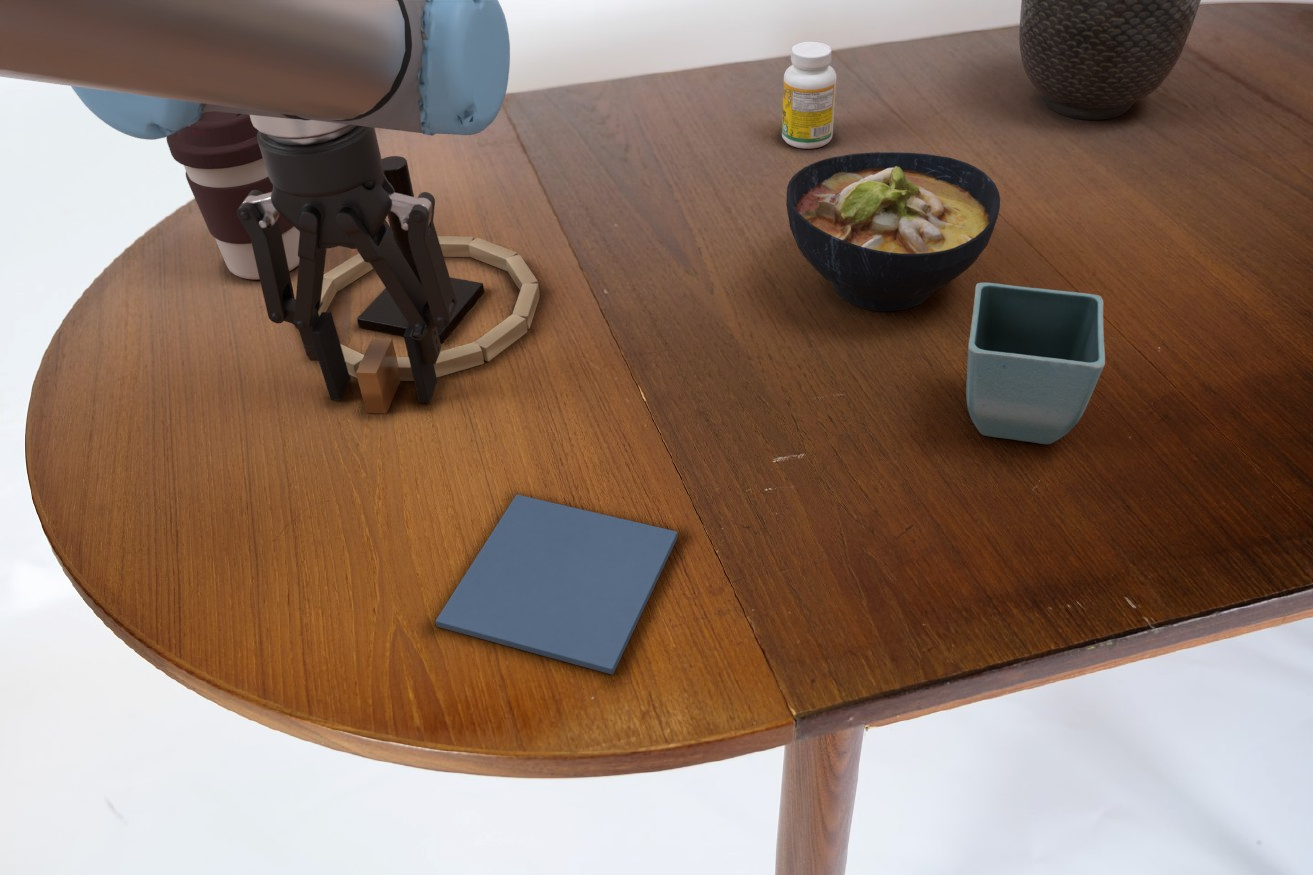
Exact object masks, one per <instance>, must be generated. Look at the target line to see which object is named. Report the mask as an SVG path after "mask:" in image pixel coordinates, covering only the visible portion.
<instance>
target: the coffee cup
mask: <svg viewBox="0 0 1313 875" xmlns="http://www.w3.org/2000/svg"><path fill="white" fill-rule="evenodd" d="M257 132H258V130H257V129H256V128H255V127H254V126H253V124H252V122H251V119H250V115H246V114H237V113H227V112H217V111H211V112H206V113H203V114H202V115H201V118H200V119H199V120H198V122H196V123H194V124H191V125H190V127H189V126H187V127H185V128H182V129H181V130H179V131H177V132H176V133H174V134H171V135H169V136H167V137H165V139H166V144H167V146H168V150H169V152H170V155H171V157H172V159H173V160H175V161H176V162H177V163H178V164H180V165H182V166H183V167H184V170H185V178H186V181H187V184H188V185H189V188H190V190H191V193H192V195H193V197H194V199H195V203H196V204H197V206H198V209H199V211H200V213H201V216H202V218H203V220H204V222H205V225H206V227H207V230H208V231H209V233H210V235H211V236H212V237H213V238H214V239H215V242H216V244H217V246H218V249H219V251H220V253H221V256H222V259H223V260H224V262H225V265H226V267H227V269H228V270H229V272H230V273H232V274H233V275H235V276H236V277H239V278H242V279H246V280H260V278H259V274H258V269H257V265H256V260H255V256H254V252H253V247H252V243H251V238H250V236H249V234H248V233H247V231H246V229H245V228H244V226H243V225H242V223H241V221H240V220H239V218H238V216H237V210H238V208H239V207H240V206H241V204H242V203H243V201H244V200H245V199H246V197H247V196H248V195H249V193H250V192H251V191H252V190H258V191H261V192H262V193H263V194H266V193H270V192H272V190H273V184H272V183H271V181H270V179H269V177H268V173H267V170H266V167H265V163H264V160H263V157H262V154H261V150H260V147H259V144H258V140H257ZM278 221H279V225H280V229H281V234H282V239H283V243H284V248H285V253H286V258H287V263H288V268H289V272H291V271H293V270H294V269H295V268H297V267H299V257H298V246H299V235H300V231H298V230H297V229H296V228H295V227H294V226H293V225H292V224H291V223H290V222H289V221H288V220H287V219H286V218H284V217H283V216H282V215H281V214H280V213H279V217H278Z"/></svg>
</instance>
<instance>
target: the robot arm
mask: <svg viewBox="0 0 1313 875" xmlns="http://www.w3.org/2000/svg"><path fill="white" fill-rule="evenodd" d="M510 65H511V43H510V33H509V28H508V23H507V19H506V15H505V13H504V10H503V8H502V5H501V4H500V1H499V0H0V78H8V79H15V80H23V81H31V82H39V83H45V84H53V85H60V86H68V87H71V89H72V90H73V91H74V93H75V95H76V96H77V97H78V98H79V99H80V101H81V102H82V103H83V105H84V106H85V107H86V108H87V109H88V110H89V111H90V112H91V113H92V114H94V116H96V118H98V119H99V120H100V121H102V122H103V123H105V124H106V125H107V126H109V127H111V129H114V130H116V131H118V132H119V133H122V134H123V135H126V136H129V137H132V138H136V139H141V140H147V141H149V140H151V141H153V140H155V141H156V140H159V139H166V138H167V136H169V135H171V134H174V133H176V132H177V131H179V130H181V129H182V128H185V127H187V126H189V127H190V125H191V124H194V123H196V122H198V120H199V119H200V118H201V115H202V114H203V113H206V112H211V111H217V112H227V113H237V114H246V115H250V119H251V122H252V124H253V126H254V127H255V128H256V129H257V130H258V132H257V140H258V144H259V147H260V150H261V154H262V157H263V160H264V163H265V167H266V170H267V173H268V177H269V179H270V181H271V183H272V184H273V190H272V192H270V193H266V194H263V193H262V192H261V191H258V190H252V191H251V192H250V193H249V195H248V196H247V197H246V199H245V200H244V201H243V203H242V204H241V206H240V207H239V208H238V210H237V216H238V218H239V220H240V221H241V223H242V225H243V226H244V228H245V229H246V231H247V233H248V234H249V236H250V238H251V243H252V247H253V252H254V256H255V260H256V265H257V269H258V274H259V278H260V279H259V283H260V287H261V290H262V296H263V299H264V304H265V308H266V313H267V318H268V319H269V320H270V321H271V322H272V323H275V324H282V323H284V322H286V323H289V324H292V325H293V326H294V328H296V329H297V330H298V332H299V335H300V339H301V341H302V344H303V347H304V348H303V349H304V350H305V354H306V357H307V358H308V359H309V360H310V361H311V362H312V361H313V362H318V364H319V366H320V369H321V373H322V376H323V379H324V383H325V386H326V390H327V392H328V396H329V399H330V401H341V399H342V396H343V394H344V392H345V391H346V389H347V386H348V385H349V382H350V380H351V377H350V376H351V375H349V373H348V369H347V366H346V362H345V359H344V355H343V352H342V348H341V345H340V344H341V342H340V337H339V334H338V331H337V327H336V324H335V319H334V317H333V313H332V311H331V312H330V311H326V312H322V313H321V315H320V316H319V314H318V311H319V310H320V308H321V306H322V304H323V302H321V294H322V285H323V276H324V274H325V265H326V257H327V249H332V248H338V247H342V248H347V249H351V250H356V251H357V252H358V253H359V254H360V255H361V257H362V258H363V260H364V261H365V262H369V263H370V264H371V265H372V267H373V268H374V269H373V270H374V271H375V273H376V275H377V276H378V278H379V279H380V281H381V283H382V284H383V286H384V287H385V288H386V289H387V290H388V292H389V294H390V295H391V297H392V298H393V300H394V301H395V303H396V305H397V306H398V308H399V309H400V311H401V312H402V314H403V315H404V317H405V319H406V320H407V322H408V323H409V324H408V327H407V329H406V331H405V334H404V336H403V340H404V343H405V349H406V353H407V357H409V361H410V365H411V369H412V374H413V378H414V381H413V382H414V385H415V390H416V394H417V399H418V402H419V403H420V404H430V402H431V399H432V396H433V394H434V392H435V388H436V387H437V384H438V377H436V373H435V368H434V364H436V361H437V359H438V356H439V354H440V352H441V351H442V344H441V343H440V339H439V335H438V330H437V326H439V327H443V328H444V327H447V326H449V324H450V321H451V319H452V316H453V314H454V311H455V309H456V306H457V299H456V296H455V293H454V289H453V286H452V283H451V279H450V277H451V276H450V273H449V269H448V266H447V264H446V259H445V257H444V256H443V253H442V250H441V246H440V243H439V240H438V236H439V235H438V233H437V229H436V227H435V223H434V219H435V218H434V217H435V208H436V207H435V206H436V199H435V197H434V195H433V194H432V193H430V192H429V191H422V192H420V193H419V194H418V196H417V197H415V196H414V197H411V196H407V195H403V194H399V193H395V190H394V188H393V187H392V185H391V184H390V183H389V182H388V180H387V179H386V177H385V175H384V172H383V166H382V159H383V158H382V155H381V150H380V145H379V141H378V138H377V133H376V132H377V131H376V129H383V130H391V131H400V132H406V133H407V132H408V133H416V134H417V133H418V134H422V135H425V136H430V137H432V136H433V137H434V136H435V135H453V136H455V135H456V136H457V135H458V136H474V135H477V134H480V133H481V132H484V131H485V130H486V129H487V128H488V127H489V126H491V124H493V122H494V121H495V120H496V118H497V116H498V114H499V113H500V111H501V108H502V106H503V103H504V101H505V97H506V94H507V90H508V86H509V76H510V75H509V74H510ZM390 211H391V212H394V213H395V214H396V215H397V216H398V217H399V220H400V223H401V228H402V229H403V230H408V241H409V245H410V249H411V252H412V255H413V258H414V261H415V264H416V267H417V270H418V274H419V277H420V280H421V283H422V285H421V284H420V282H419V281H418V279H417V277H416V276H415V274H414V272H413V271H412V269H411V267H410V266H409V264H408V263H407V261H406V259H405V258H404V256H403V254H402V253H401V251H400V249H399V248H398V246H397V245H396V243H395V241H394V239H393V232H392V230H391V228H390V225H389V222H387V220H386V219H387V218H388V216H387V215H388V214H389V212H390ZM279 213H280V214H281V215H282V216H283V217H284V218H286V219H287V220H288V221H289V222H290V223H291V224H292V225H293V226H294V227H295V228H296V229H297V230H298V231H300V235H299V246H298V257H299V265H298V268H297V269H298V270H297V282H296V291H295V292H294V286H293V283H292V278H291V273H290V271H289V268H288V263H287V258H286V253H285V248H284V243H283V239H282V234H281V229H280V225H279V221H278V217H279ZM422 286H423V287H422ZM320 303H321V304H320Z"/></svg>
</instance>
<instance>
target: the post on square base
mask: <svg viewBox="0 0 1313 875" xmlns="http://www.w3.org/2000/svg"><path fill="white" fill-rule="evenodd" d="M381 159H382V166H383V172H384V175H385V177H386V179H387V180H388V182H389V183H390V184H391V185H392V187H393V188H394V190H395V193H399V194H403V195H407V196H411V197H415V194H414V189H413V184H412V178H411V173H410V169H409V164H408V160H407V159H406V157H403V156H401V155H400V156H399V155H391V156H385V157H382V158H381ZM387 219H388V225H389V226H390V228H391V230H392V232H393V239H394V241H395V243H396V245H397V246H398V248H399V249H400V251H401V253H402V254H403V256H404V258H405V259H406V261H407V263H408V264H409V266H410V267H411V269H412V271H413V272H414V274H415V276H416V277H417V279H418V281H419V282H420V284H421V285H422V283H421V280H420V277H419V274H418V270H417V267H416V264H415V261H414V258H413V255H412V252H411V249H410V245H409V241H408V230H403V229H402V228H401V223H400V220H399V217H398V216H397V215H396V214H395V213H394V212H391V211H390V212H389V214H388V215H387ZM450 279H451V283H452V286H453V289H454V293H455V296H456V299H457V306H456V309H455V311H454V314H453V316H452V319H451V321H450V324H449V326H447V327H444V328H443V327H439V326H437V330H438V335H439V339H440V344H441V345H442V344H443V343H444V342H445V341H446V339H447V338H448V337H449V336H450V334H451V333H453V331H454V330H455V329H456V327H457V326H458V325H459V324H460V323H461V321H462V320H463V319H464V318H465V317H466V315H467V314H468V313H469V312H470V311H471V309H472V308H473V307H474V305H476V303H477V302H478V301H479V299H480V298H481V297H482V296H483V295H484V293H485V288H484V283H483V282H480V281H473V280H468V279H462V278H457V277H451V276H450ZM422 287H423V286H422ZM356 322H357V324H358V328H360V329H363V330H369V331H374V332H380V333H384V334H390V335H395V336H401V337H404V334H405V331H406V329H407V327H408V324H409V323H408V322H407V320H406V319H405V317H404V315H403V314H402V312H401V311H400V309H399V308H398V306H397V305H396V303H395V301H394V300H393V298H392V297H391V295H390V294H389V292H388V290H387V289H386V287H385V288H384V289H383V290H382V291H381V292H380V293H379V294H378V295H377V297H375V299H373V301H371V303H369V305H368V306H367V307H366V308H365V309H364V310H363V311H362V312H361V313H360V314H359V316H357V318H356Z"/></svg>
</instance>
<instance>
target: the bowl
mask: <svg viewBox="0 0 1313 875" xmlns="http://www.w3.org/2000/svg"><path fill="white" fill-rule="evenodd" d="M1000 195H1001V194H1000V192H999V188H998V186H997V184H996V183H995V182H994V181H993V179H992V178H991V177H989V175H987V173H985V171H983V170H981V169H980V168H978V167H976V166H975V165H973V164H970V163H968V162H965V161H963V160H959V159H957V158H953V157H948V156H941V155H935V154H929V153H921V152H919V153H918V152H903V151H901V152H900V151H899V152H896V151H895V152H890V151H889V152H883V151H881V152H878V151H877V152H876V151H874V152H859V153H858V152H857V153H850V154H844V155H838V156H833V157H829V158H823V159H821V160H819V161H816V162H813V163H811V164H808V165H806V166H804V167H803V168H801V169H800V170H798V171H797V172H796V173H795V174H793V176H791V179H790V180H789V181H788V183H787V186H786V197H785V198H786V200H785V201H786V203H785V204H786V212H787V218H788V224H789V230H790V231H791V234H792V236H793V238H794V241H795V243H796V245H797V247H798V249H799V251H800V252H801V254H802V256H803V258H805V259H806V260H807V262H808V263H809V264H810V265H811V266H812V268H814V270H816V271H817V272H818V273H819V275H821V277H822V278H824V279H825V280H826V281H828V282H829V283H831V285H832V287H833V289H834V290H835V292H836V294H838V295H839V297H841V298H842V299H843V300H844V301H845V302H847V303H849V304H851V305H853V306H855V307H858V308H861V309H864V310H868V311H874V312H898V311H905V310H908V309H911V308H916V307H917V306H919V305H920V304H922V303H924V302H925V301H926V300H927V299H928V298H929V297H930V296H931V295H932V293H934V292H935V291H937V290H939V289H940V288H943V287H944V286H946V285H948V284H949V283H951V282H953V281H954V280H955V279H956V278H957V277H959V276H960V275H961V274H963V273H964V272H965V271H967V270H968V269H969V268H970V267H971V266H972V265H973V264H974V263H975V262H976V261H977V259H978V258H979V257H980V256H981V254H982V253H983V252H984V250H985V249H986V248H987V246H988V244H989V242H990V240H991V237H992V235H993V232H994V230H995V227H996V223H997V220H998V218H999V214H1000V209H1001V196H1000Z"/></svg>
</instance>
